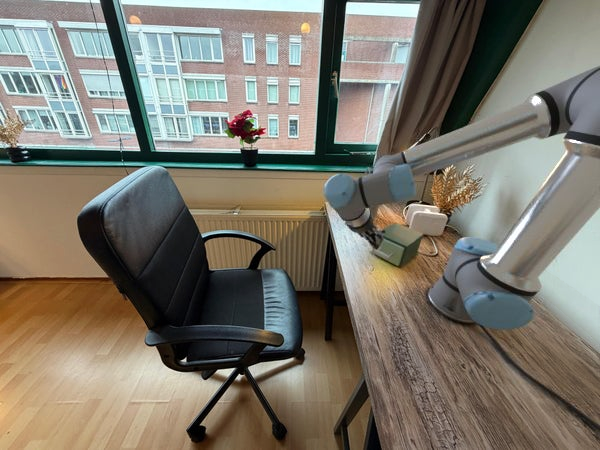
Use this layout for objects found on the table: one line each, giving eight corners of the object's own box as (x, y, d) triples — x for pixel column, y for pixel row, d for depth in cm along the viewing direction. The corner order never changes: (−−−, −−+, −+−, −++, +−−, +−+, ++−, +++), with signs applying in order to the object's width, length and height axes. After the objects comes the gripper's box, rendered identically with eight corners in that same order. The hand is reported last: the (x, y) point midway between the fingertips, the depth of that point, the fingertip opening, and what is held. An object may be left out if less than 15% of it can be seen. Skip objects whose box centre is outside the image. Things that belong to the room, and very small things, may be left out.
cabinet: (400, 267, 93) (407, 246, 89) (371, 252, 101) (376, 232, 97) (416, 253, 102) (423, 234, 98) (389, 241, 110) (394, 222, 106)
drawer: (392, 270, 90) (397, 253, 86) (366, 256, 97) (369, 239, 93) (413, 253, 101) (419, 237, 97) (388, 241, 108) (392, 226, 104)
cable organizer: (434, 227, 125) (441, 206, 119) (441, 238, 116) (449, 216, 110) (403, 223, 126) (409, 203, 121) (408, 234, 117) (415, 212, 112)
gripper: (331, 218, 71) (356, 246, 89) (370, 236, 63) (388, 263, 81) (345, 197, 72) (366, 229, 90) (385, 212, 63) (400, 244, 82)
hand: (377, 245), depth 85 cm, fingers closed
